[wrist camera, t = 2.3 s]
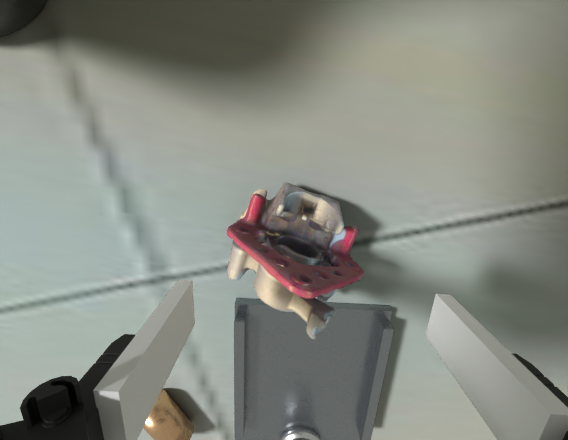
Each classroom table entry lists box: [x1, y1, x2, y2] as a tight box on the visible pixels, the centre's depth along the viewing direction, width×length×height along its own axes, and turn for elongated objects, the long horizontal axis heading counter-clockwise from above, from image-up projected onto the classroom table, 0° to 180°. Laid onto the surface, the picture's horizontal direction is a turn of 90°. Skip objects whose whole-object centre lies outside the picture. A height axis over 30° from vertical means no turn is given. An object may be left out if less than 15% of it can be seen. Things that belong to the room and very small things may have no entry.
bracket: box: [234, 298, 394, 440], centre depth 28 cm, size 22×16×7 cm
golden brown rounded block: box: [143, 389, 194, 440], centre depth 31 cm, size 6×4×4 cm, turn 27°
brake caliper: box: [227, 183, 364, 339], centre depth 23 cm, size 11×11×12 cm
